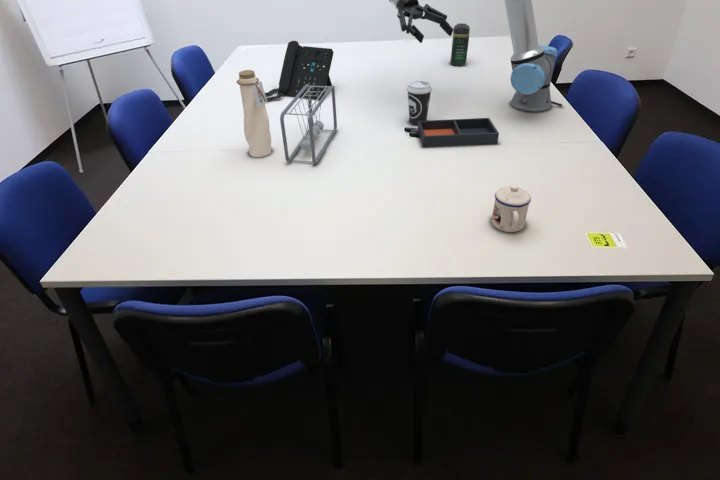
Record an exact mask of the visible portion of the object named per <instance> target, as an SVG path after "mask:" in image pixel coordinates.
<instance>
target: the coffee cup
mask: <svg viewBox="0 0 720 480" xmlns="http://www.w3.org/2000/svg"><path fill="white" fill-rule="evenodd" d="M406 91H407V98H408V118H409V124H410V125H412V126H417V127H418V121H428V115H429V114H428V112H429V108H430V107H429V106H430V100H431V93H432V91H433V85H431V82H430V81H428V80H423V79H419V80H418V79H417V80H412V81H410V82H409V83H408V85H407V86H406Z"/></svg>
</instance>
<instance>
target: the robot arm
mask: <svg viewBox="0 0 720 480" xmlns="http://www.w3.org/2000/svg"><path fill="white" fill-rule="evenodd" d="M388 1H389V2H390V3H391V5H392V6H394V8H395V9H396V10H397V15H396V17H397V18H398V20H399V25H400V30H401V32H405V33H406V34H408V35H409V34H410V35H411V36H413V37H414V38H415V39H416V40H417V41H418V42H419V44H421V43H423V42H424V37H425V35H424V34H423V33H422V32H421V31H420V30H419V29H418V28H417V26H416V25H415V24H413V20H419V19H421V20H427V21H430V22H433V23H435V24H439V25H438V26H439V27H440V28H441V29H442V30H443V31H444V32H445V33H446V34H447V36H448V37H452V36H453V30H454V27H452V25H450V23H449V22H448V21H447V19H448V15H447V14H445V13H443V12H441V11H439V10H438V9H435V8H434V7H431V6H430V5H429V4H428V3H425V4H424V6H422V5H421V4H420V3H419V0H388ZM504 6H505V11H506V17H507V22H508V23H507V24H508V28H509V34H510V40H511V45H512V46H511V47H512V50H513V54H512V55H511V57H510V64H511V70H512V71H511V73H510V85H511V87H512V89H514V90H515V92H514V94H513V96H512V98H511V106H512V107H513V108H515V109H517V110H520V111H522V112H528V113H540V112H545V111H547V110H549V109H550V108H551V106H552V105H555V106H558V107H562V106H563V104H562V103H559V102H556V101H553V100H552V97H551V88H550V87H551V83H552V78H553V73H554V69H555V64H556V59H557V57H558V50H557V48H555V47H553V46H548V45H541V44H540V45H539V39H538V32H537V27H536V20H535V14H534V7H533V1H532V0H504ZM406 18H407V22H406Z"/></svg>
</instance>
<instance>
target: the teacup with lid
mask: <svg viewBox="0 0 720 480" xmlns="http://www.w3.org/2000/svg"><path fill="white" fill-rule="evenodd" d="M531 202H532V197H531V194H530V193H529V192H528V190H525V189H524V188H522V187H519V186H518V185H516V184H512V185H510V186H509V185H508V186H503V187H500V188H498V189H497V190H496V191H495V192H494V204H493V209H492V215H491V224H492V225H493V227H495V229H497V230H499V231H502V232H506V233H515V232H519V231H521V230H523V228H524V227H525V224H526V220H527V215H528V210H529V205H530V204H531Z"/></svg>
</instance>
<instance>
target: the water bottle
mask: <svg viewBox="0 0 720 480" xmlns="http://www.w3.org/2000/svg"><path fill="white" fill-rule="evenodd" d="M236 84H237V85H239V91H240V96H241V102H242V109H243V132H244V137H245V141H246V143H247V145H248V152H249V156H251V157H253V158H264V157H266V156H268V155H270V154H271V153H272V135H271V134H272V133H271V131H270V119H269V115H268V111H267V108H266V104H267V103H268V101H267V99H266V98H267V96H265V95H266V94H265V93H266V92H265V89H264V86H263V82H262V80H260V79H259V78H258V77H257V76H256V74H255V71H254V70H252V69H244V70H240V71H239V72H238V79H237V81H236Z"/></svg>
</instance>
